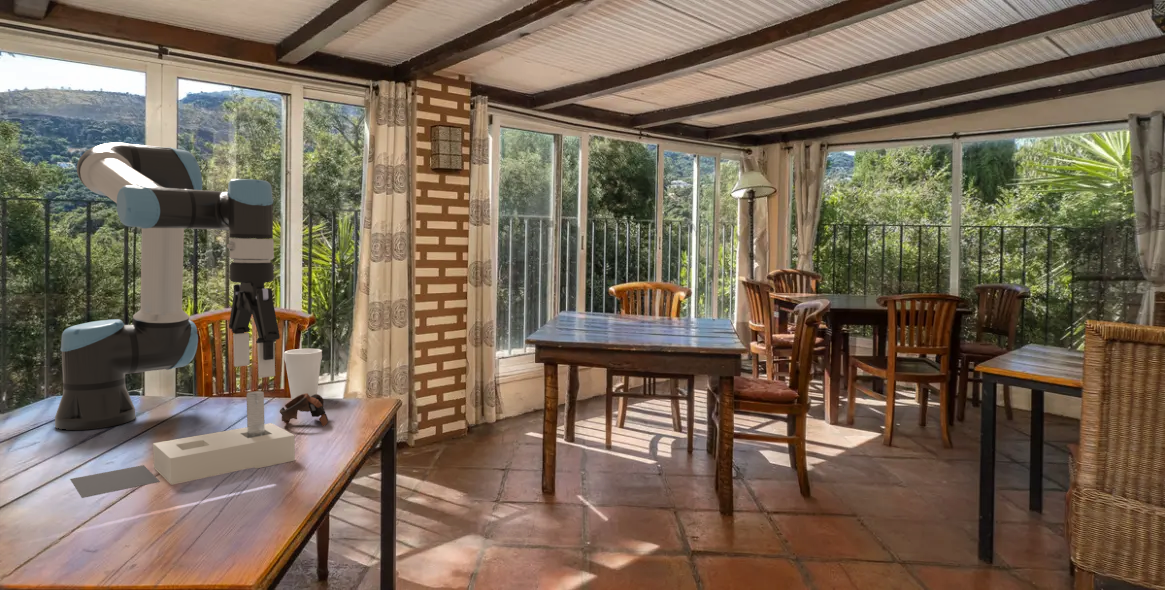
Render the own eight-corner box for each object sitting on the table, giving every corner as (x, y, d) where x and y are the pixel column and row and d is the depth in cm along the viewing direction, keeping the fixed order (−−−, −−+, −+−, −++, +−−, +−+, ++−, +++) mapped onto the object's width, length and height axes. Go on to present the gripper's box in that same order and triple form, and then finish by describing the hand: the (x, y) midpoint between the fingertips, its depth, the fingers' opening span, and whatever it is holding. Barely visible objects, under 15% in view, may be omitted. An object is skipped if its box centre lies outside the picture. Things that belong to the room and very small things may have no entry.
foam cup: (299, 404, 175) (298, 355, 174) (277, 399, 180) (276, 351, 179) (330, 397, 183) (329, 350, 182) (308, 393, 188) (307, 347, 187)
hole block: (153, 469, 124) (153, 443, 123) (271, 446, 138) (271, 423, 138) (171, 486, 115) (170, 458, 115) (294, 460, 130) (294, 435, 130)
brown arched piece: (322, 432, 152) (302, 403, 149) (288, 448, 153) (267, 419, 151) (342, 406, 163) (323, 379, 161) (310, 421, 165) (290, 394, 162)
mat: (70, 481, 117) (70, 478, 117) (143, 467, 125) (143, 464, 125) (82, 500, 109) (81, 497, 109) (160, 483, 117) (160, 481, 117)
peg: (246, 458, 131) (244, 392, 130) (262, 455, 133) (260, 390, 132) (251, 462, 128) (249, 395, 128) (267, 459, 131) (265, 393, 130)
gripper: (210, 259, 134) (212, 363, 136) (254, 264, 116) (256, 384, 118) (249, 258, 139) (251, 359, 141) (297, 263, 122) (299, 378, 123)
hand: (253, 371), depth 130 cm, fingers open, 13 cm apart
